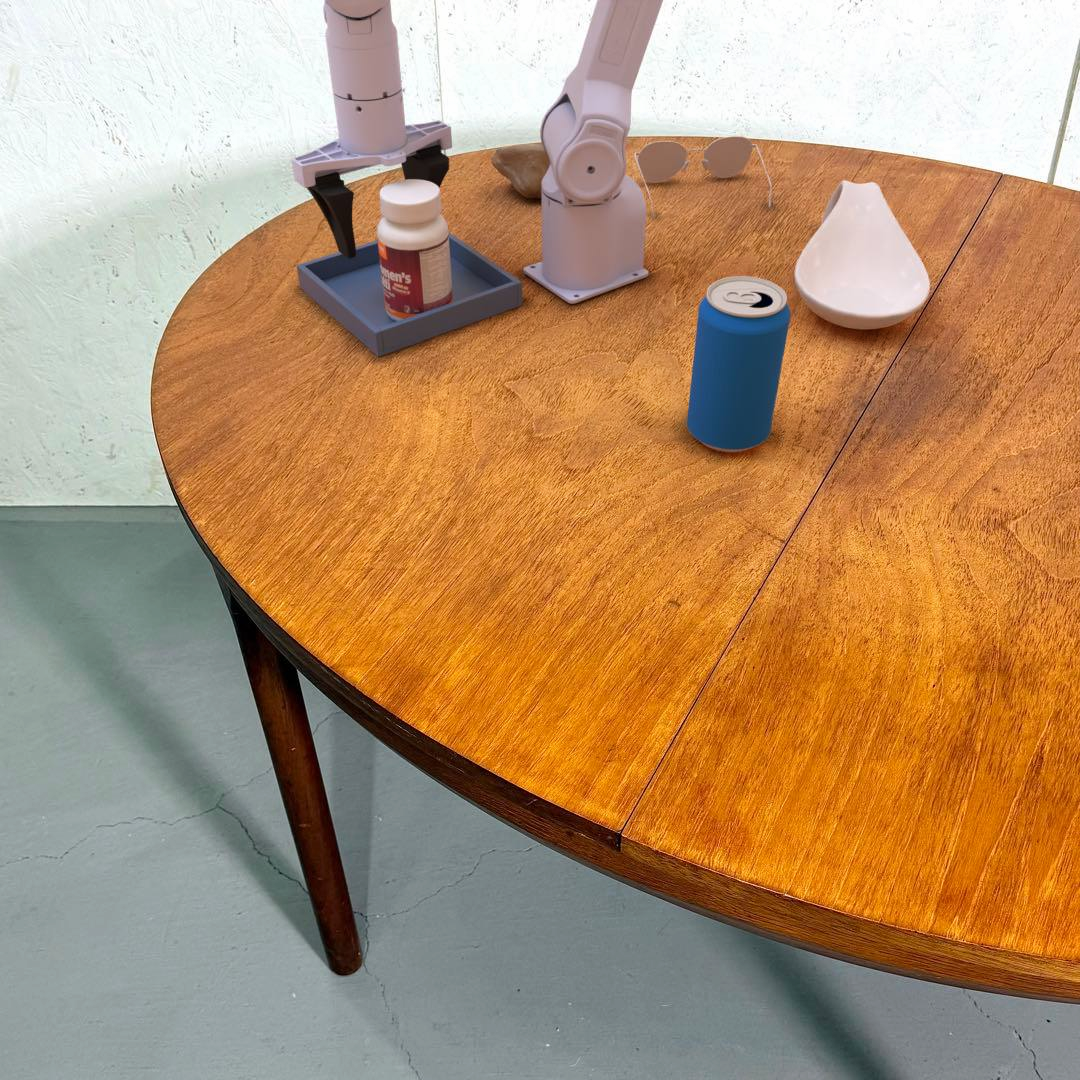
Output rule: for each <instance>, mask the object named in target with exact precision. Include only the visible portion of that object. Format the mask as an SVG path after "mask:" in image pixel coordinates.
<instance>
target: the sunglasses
mask: <svg viewBox="0 0 1080 1080" xmlns="http://www.w3.org/2000/svg"><path fill="white" fill-rule="evenodd" d="M753 148H755V149H756V152H757V153H758V156H759V159H760V161H761V163H762V166H763V169H764V171H765V173H766V177H767V180H768V183H769V197H768V208H771V204H772V203H771V202H772V187H773V186H772V182H771V179H770V176H769V174H768V172H767V168H766V166H765V162H764V161H763V157H762V155H761V151H760V148H759V147H758V145H757V144H756V143H754V144H753V143H752V142H751V140H750V139H749V138H747V137H746V136H742V135H732V136H731V135H730V136H724V137H720V138H717V139H715V140H713V141H712V142H711V143H709V144H708V145H707V147H706V148H691V149H688V150H687V148H685V146H684V145H683V144H681V142H677V141H673V140H659V141H658V140H657V141H652V142H650V143H647V144H646V145H645V146H643V147H642V148H641V150H639V151H640V152H639V151H638V152H634V155H633V158H634V160H635V163H636V166H637V168H638V172H639V174H640V177H641V178H642V181H643V183H644V187H645V189H646V191H647V195H648V197H649V200H650V201H649V202H650V205H651V211H652V216H653V217H655V215H654V207H653V202H652V197H651V193H650V191H649V187H648V185H647V184H646V182H647V183H653V184H660V183H664V182H667V181H669V180H671V179H672V178H674V177H675V176H676V175H677V174H678V173H680V172H682V173H684V171H685V170H686V169H687V168H688V166H689V164H690V160H688V159H687V158H688V153H690V152H693V151H704V152H703V159H702V160H701V164H702V167H703V169H704V170H705V171H708V172H709V174H711V176H714V177H716V178H720V179H727V178H732V177H735V176H737V175H738V174H740V173H741V172H742V171H744V169H745V168H746V166H748V165H747V164H748V162H749V161H750V158H751V155H752V152H753Z"/></svg>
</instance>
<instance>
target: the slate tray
mask: <svg viewBox="0 0 1080 1080" xmlns="http://www.w3.org/2000/svg"><path fill="white" fill-rule="evenodd" d="M449 248H450V264H451V280H452V296H453V302H452V303H450V304H447V305H444V306H441V307H438V308H435V309H432V310H429V311H426V312H424V313H421V314H418V315H415V316H412V317H409V318H406V319H403V320H400V321H398V322H396V321H395V320H393V319H392V318H390V317H389V315H388V314H387V312H386V309H385V302H384V293H383V285H382V276H381V267H380V257H379V247H378V239H377V240H374V241H371V242H367V243H364V244H360V245H358V246H356V257H354V258H350V259H348V258H347V257H346V256H344V255H343V254H342V253H340V252H339V251H338V252H333V253H332V254H327V255H324V256H321V257H318V258H314V259H312V260H308V261H305V262H302V263H298V264H296V265H295V266H296V270H297V271H296V273H297V276H298V283H299V289H301V290H302V291H303V293H305V294H306V295H307V296H308V297H309V298H311V299H312V301H314V302H316V304H318V305H319V306H320V307H321V308H322V309H324V311H326V313H328V314H329V315H330V316H331V317H332V318H334V319H335V320H336V322H338V323H339V324H340V325H341V326H342V327H344V329H346V330H347V331H348V332H350V334H351V335H353V336H354V337H355V338H356V339H357V340H358V341H359V342H361V343H362V344H363V345H364V346H365V347H367V349H369V350H370V351H371V352H372V353H373V354H374V355H375V356H376V357H377V358H380V357H383V356H386V355H389V354H391V353H394V352H396V351H400V350H403V349H404V348H407V347H411V346H413V345H416V344H419V343H422V342H424V341H427V340H430V339H433V338H435V337H438V336H441V335H444V334H446V333H449V332H452V331H455V330H458V329H460V328H463V327H467V326H469V325H472V324H474V323H477V322H480V321H482V320H486V319H488V318H492V317H494V316H496V315H499V314H502V313H505V312H507V311H511V310H513V309H516V308H519V307H521V306H523V303H524V301H523V281H521V280H520V279H519V278H518V277H516V276H514V275H513V274H511V273H510V272H508V271H507V270H506V269H504V268H503V267H501V266H500V265H498V264H497V263H496V262H494V261H492V260H491V259H489V258H488V257H487V256H485V255H483V254H482V253H480V252H479V251H478V250H476V249H475V248H473V247H472V246H470V245H468V244H467V243H465V241H463V240H461V239H460V238H458V237H457V236H455V235H454V234H453V233H451V232H449Z"/></svg>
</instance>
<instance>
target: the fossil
mask: <svg viewBox="0 0 1080 1080" xmlns="http://www.w3.org/2000/svg"><path fill="white" fill-rule="evenodd" d="M490 161H491V164H492V166H493V167H494V168H495V169H496V171H497V172H499V174H500V175H501V176H502V177H505V178H506V179H508V180H509V181H510V184H511V185H512V187H513V188H514V189H515V190H516V192H517V193H519V194H520V195H522V196H523V197H525V198H526V199H541V200H542V179H543V178H544V176H545V174H546V173H547V171H548V169H549V166H550V164H551V162H550V159H549V156H548V154H547V152H546V151H545V150H544V148H543V145H542V143H541V144H540V143H520V144H519V143H518V144H513V145H507V146H500V147H498V148H497V149H496V150H495V152H494V154H492V155H491V157H490Z"/></svg>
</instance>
